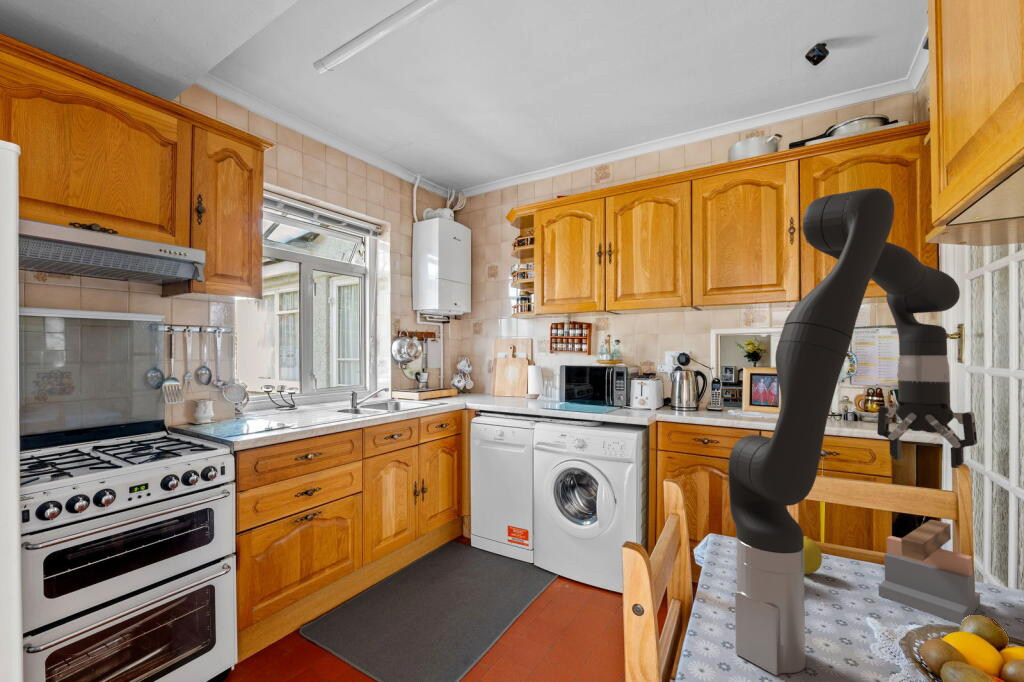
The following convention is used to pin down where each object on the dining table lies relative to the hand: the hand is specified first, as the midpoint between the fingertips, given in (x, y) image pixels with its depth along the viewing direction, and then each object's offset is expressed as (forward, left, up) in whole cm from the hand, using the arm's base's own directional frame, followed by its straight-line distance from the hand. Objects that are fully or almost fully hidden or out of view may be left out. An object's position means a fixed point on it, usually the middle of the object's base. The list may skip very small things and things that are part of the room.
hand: (925, 463), depth 89 cm
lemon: (-8, +18, -26) cm, 33 cm away
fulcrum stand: (0, 0, -26) cm, 26 cm away
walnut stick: (0, 0, -16) cm, 16 cm away
